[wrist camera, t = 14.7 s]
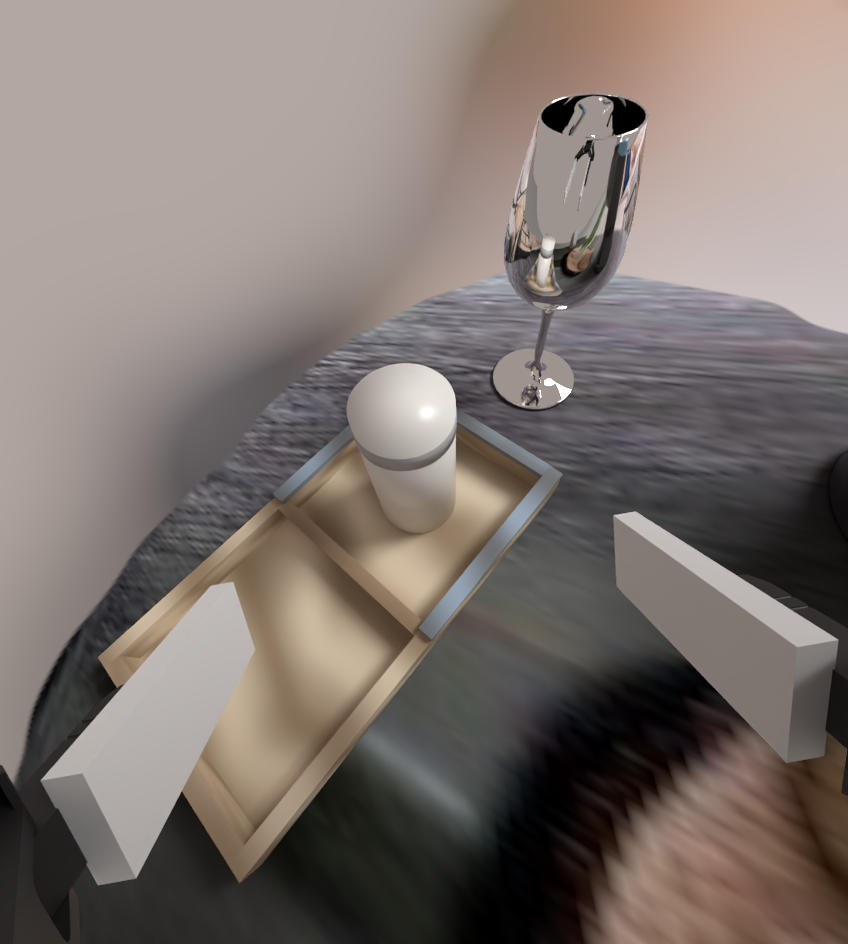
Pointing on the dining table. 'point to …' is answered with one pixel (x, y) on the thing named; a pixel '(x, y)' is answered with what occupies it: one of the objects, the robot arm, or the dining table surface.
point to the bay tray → (332, 623)
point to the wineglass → (569, 226)
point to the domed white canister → (408, 443)
